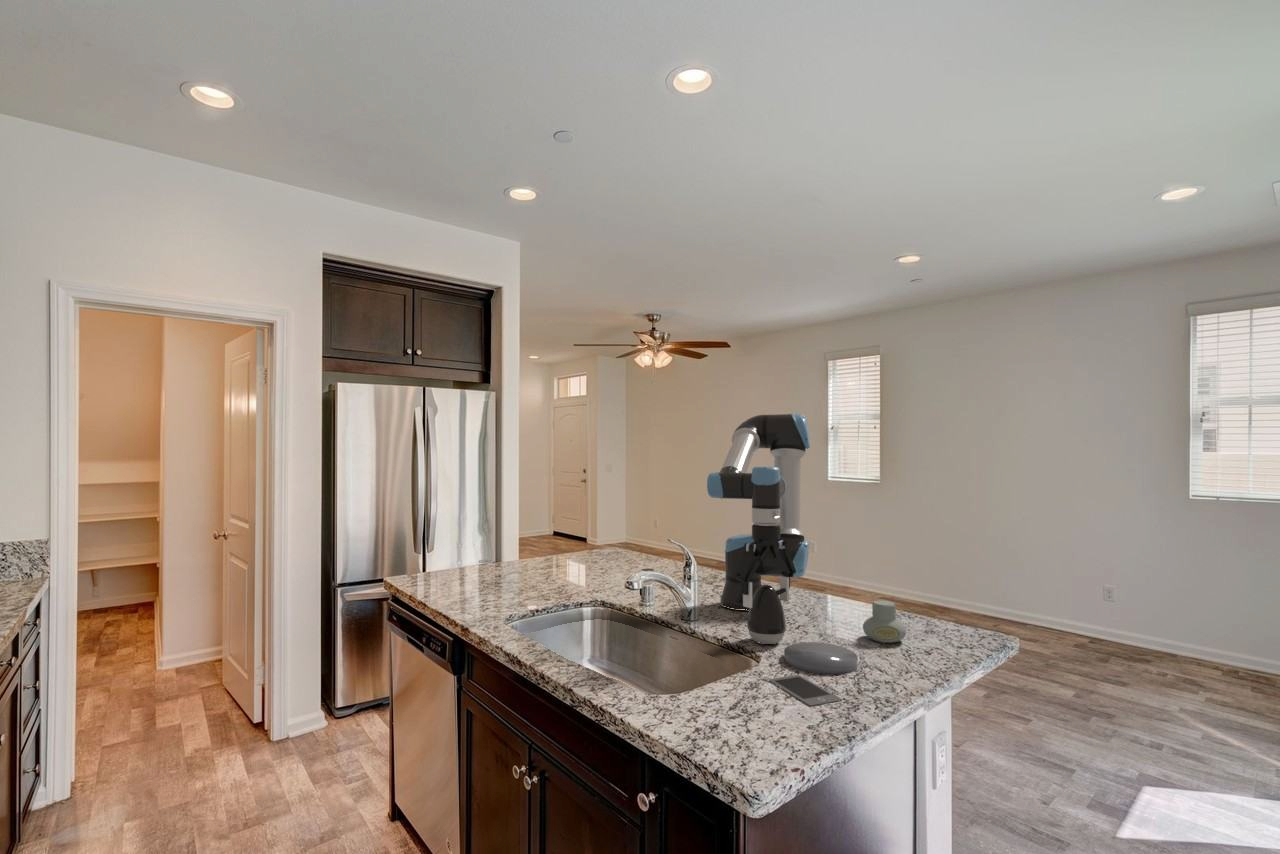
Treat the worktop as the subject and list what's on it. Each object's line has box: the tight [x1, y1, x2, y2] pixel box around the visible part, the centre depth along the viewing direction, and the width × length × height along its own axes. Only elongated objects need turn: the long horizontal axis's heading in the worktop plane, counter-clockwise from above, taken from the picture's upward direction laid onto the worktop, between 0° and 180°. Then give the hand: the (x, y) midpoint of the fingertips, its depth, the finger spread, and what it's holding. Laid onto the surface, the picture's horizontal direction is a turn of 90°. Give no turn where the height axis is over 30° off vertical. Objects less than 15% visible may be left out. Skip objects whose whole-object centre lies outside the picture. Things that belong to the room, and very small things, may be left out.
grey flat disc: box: [783, 641, 858, 675], centre depth 148 cm, size 17×17×2 cm
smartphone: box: [768, 674, 843, 708], centre depth 131 cm, size 15×8×1 cm, turn 22°
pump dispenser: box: [746, 584, 787, 645], centre depth 164 cm, size 10×10×15 cm
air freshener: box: [862, 600, 907, 644], centre depth 165 cm, size 11×8×10 cm
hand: (766, 603), depth 163 cm, fingers open, 13 cm apart
